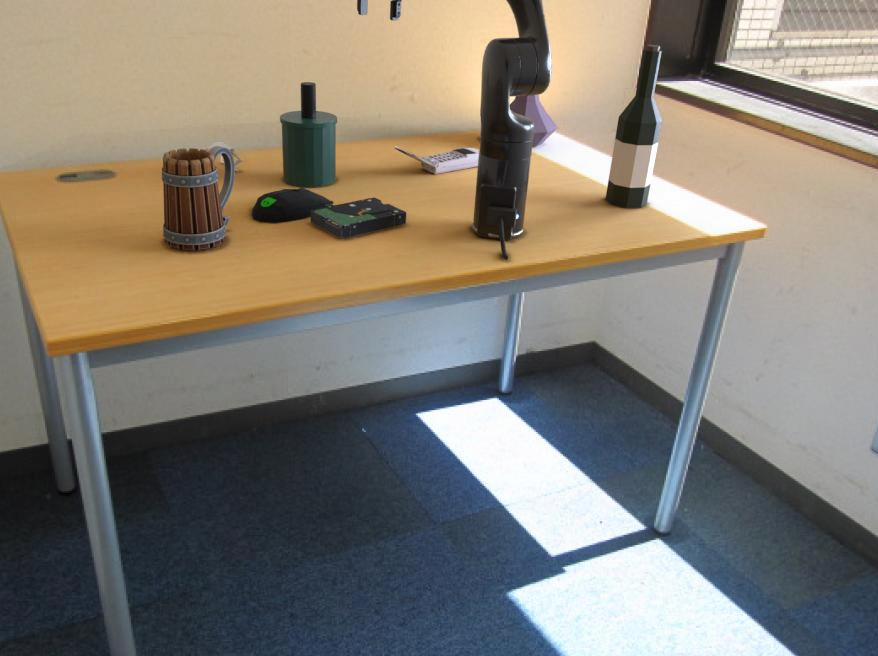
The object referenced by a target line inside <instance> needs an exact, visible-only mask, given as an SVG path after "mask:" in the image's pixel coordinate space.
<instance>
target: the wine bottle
mask: <svg viewBox="0 0 878 656" xmlns="http://www.w3.org/2000/svg"><path fill="white" fill-rule="evenodd" d="M662 52H663V51H662V50H661V46H660V45H658V44H646V45H645V48H644V49H642V54H641V61H640V66H639V72H638V78H637V85H636V90H635V95H634V97H632V99H631V101H629V103H628V104H627V105H626V107H625V108H624V110H622V112H621V113H620V114H619V116H618V118H617V119H618V120H617V125H616V130H615V132H616V133H615V137H614V144H613V150H612V156H611V161H610V167H609V173H608V174H609V175H608V180H607V187H606V193H605V199H604V200H605V201H606V202H607V203H608V204H609V205H612V206H616V207H619V208H624V209H641V208H643V207H645V206H646V205H647V204H648V199H649V195H650V188H651V183H652V178H653V173H654V167H655V162H656V157H657V151H658V147H659V140H660V136H661V131H662V124H663V118H662V116H661V113H660V110H659V108H658V105H657V103H656V102H657V101H656V100H655V98H654V97H655V90H656V85H657V79H658V75H659V69H660V63H661V57H662Z"/></svg>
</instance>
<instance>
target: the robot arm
mask: <svg viewBox="0 0 878 656" xmlns="http://www.w3.org/2000/svg"><path fill="white" fill-rule="evenodd" d="M402 1H403V0H390V5H389V7H390V8H389V20H390V21H393V22H394V21H399V20H400V18H401V16H402ZM505 1H506V2H507V4H508V6H509V8H510V10H511V12H512V15H513V18H514V20H515V24H516V29H517V35H518V37H497V38H493V39H490V41H489V42H488V43H487V45H486V47H485V49H484V51H483V52H484V53H483V56H482V63H481V84H480V90H481V91H480V107H479V109H480V110H479V115H480V137H479V147H478V148H479V149H478V150H479V158H478V166H477V172H476V183H475V195H474V197H475V198H474V206H473V207H474V209H473V219H472V224H471V225H472V226H471V228H472V229H471V230H472V231H473V233H475V234H476V237H480V238H488V239H495V240H496V239H497V240H499V242H500V244H499V245H500V249H501V255H502V257H503V260H505V261H506V260H508V259H509V256H508V253H507V248H506V241H511V240H512V239H515V238H518V237H521V236H522V235H523V234H524V231H525V229H524V224H525V217H526V216H525V215H526V207H527V198H528V188H529V180H530V179H529V178H530V169H531V162H532V161H531V160H532V152H533V147H532V145H533V137H534V128H535V126H534V122H533V121H532V120H531V119H529V118H528V117H525V116H523V115H520V114H517V113H514V112H513V111H512V110H510V97H516V96H532V95H539V96H540V95H542V94H544V93H545V92H546V91H547V90H548V88H549V86H550V83H551V79H552V73H553V63H552V62H553V59H552V50H551V44H550V38H549V33H548V26H547V22H546V21H547V20H546V15H545V10H544V3H543V0H505ZM368 3H369V0H356V10H357V13H358V15H359V16H366V15H368V12H369V11H368V10H369V9H368V8H369V6H368V5H369V4H368Z"/></svg>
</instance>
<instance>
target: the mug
mask: <svg viewBox="0 0 878 656" xmlns="http://www.w3.org/2000/svg"><path fill="white" fill-rule="evenodd" d="M221 155H222V156H223V158H222V160H223V162H224V163H223V164H224V176H223V182H222V187H221V189H220V188H219V182H218V181H219V175H220V173H219V172H218V167H217V166H216V160H217V158H218V157H219V156H221ZM235 169H236V166H235V158H234V155H233V154H232V153H231V151H230V150H229V149H227V148H225V147H221V146H214V147H212V148H211V149H210V150H209V151H208V152H207V150H206V149H204V148H195V147H191V148H189V149H188V150H187V148H183V147H182V148H178V149H171V150H168V152H167V151H166V152H165V153H163V156H162V168H161V181H162V183H163V185H162V186H163V224H162V236H163V238H164V242H165V244H166V245H167V246H169V247H170V248H172V249H174V250H177V251H182V252H203V251H204V252H205V251H209V250H213V249H217V248H218V247H220V246H221V245H222V244H223V243H224V242H225V241H226V238H227V237H226V235H227V230H226V227H227V226H228V224H229V222H230V215H226V214H223V211H224V209H225V207H226V205H227V203H228V202H229V199H230V196H231V194H232V192H233V189H234V184H235V178H236V177H235V175H236V170H235Z"/></svg>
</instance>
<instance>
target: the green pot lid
mask: <svg viewBox="0 0 878 656" xmlns="http://www.w3.org/2000/svg"><path fill="white" fill-rule="evenodd" d="M279 122H280V124H281V125H282V124H284V125H286V126H290V127H296V128H325V127H330V126H333V125H335V124H336V125H337V124H338V116H337V115H336V114H335V113H334V114H333V113H330V112H328V111H327V112H326V111H321V110H317V85H316V83H315V82H312V81H303V82H300V110H291V111H287V112H283V113H281V114H280V115H279Z"/></svg>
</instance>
